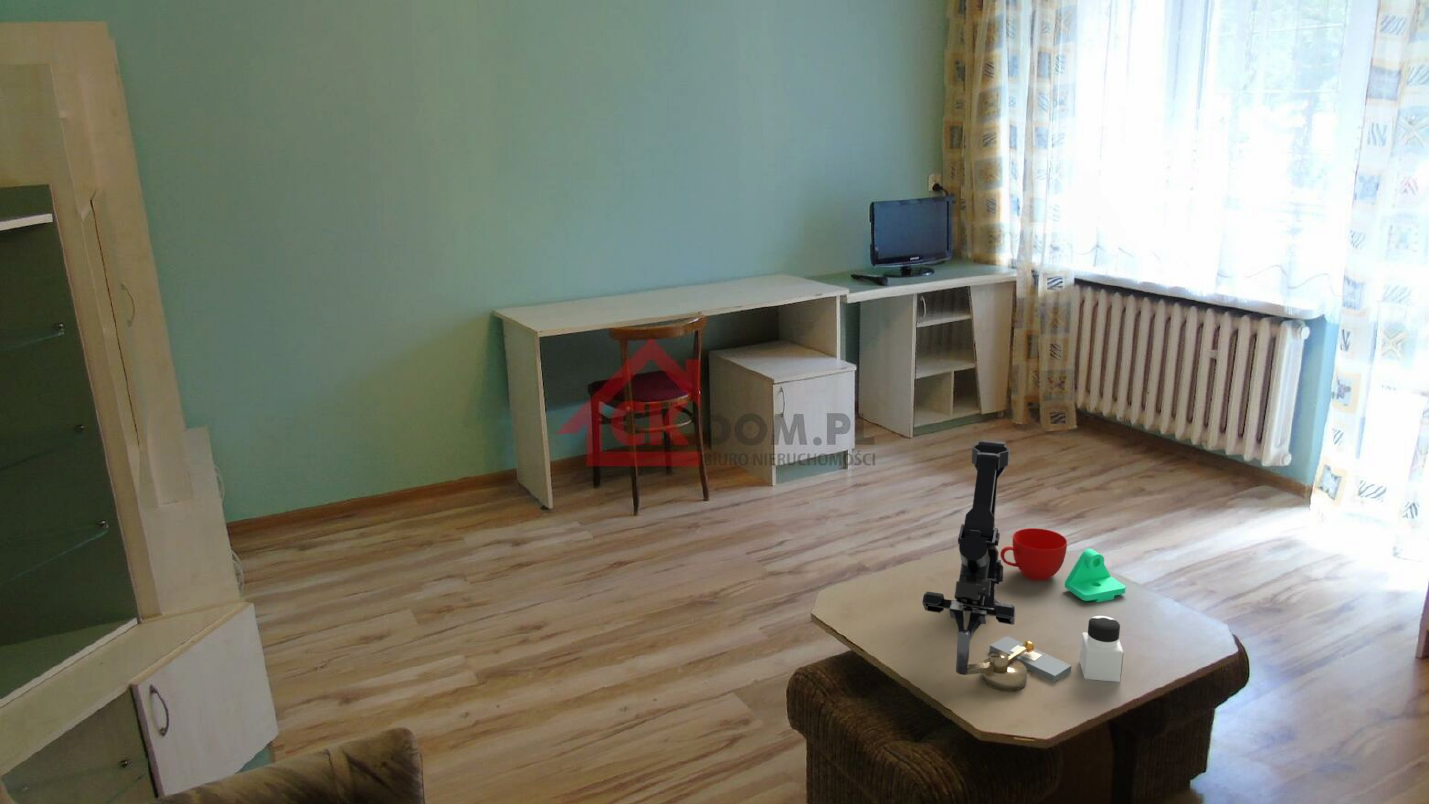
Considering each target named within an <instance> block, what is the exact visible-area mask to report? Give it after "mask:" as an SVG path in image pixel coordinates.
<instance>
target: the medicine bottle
mask: <svg viewBox="0 0 1429 804" xmlns="http://www.w3.org/2000/svg"><path fill="white" fill-rule="evenodd" d="M1087 627H1088V628H1087V632H1082V634H1081V641H1080V651H1079V665H1080V667H1081V671H1082V676H1083V679H1084V680H1091V681H1104V682H1113V683H1114V682H1115V683H1116V682H1117V683H1121V680H1122V671H1123V660H1124V649H1123V647H1122V644H1121V641H1120V631H1121V630H1120V629H1121V624H1120V623H1119V622H1118V621H1117V620H1116V619H1114V618H1112V617H1110V616H1107V615H1096V616H1093V617H1090V619H1089V620H1088V626H1087Z"/></svg>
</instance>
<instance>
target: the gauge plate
mask: <svg viewBox="0 0 1429 804" xmlns="http://www.w3.org/2000/svg"><path fill="white" fill-rule="evenodd" d="M1023 644H1024V642H1022V641H1018V640H1017V639H1014V638H1013V637H1010V636H1008V635H1006V636H1004V637H1002V638H1000V639H999V640H997V641H995V642H993V643H992V644H990V645H989V652H991V653H992V652H995V651H1001V652H1004V653H1006V654H1008V656H1010V655H1011V654H1013V653H1015V652H1016V651H1018V650H1019V649H1021V648H1022V647H1023ZM1015 660H1018V661H1020V662H1021V663H1022V664H1024V665H1025V667H1026V668H1027V671H1029V672H1032V673H1034V674H1036V675H1039V676H1041V677H1042V678H1045V679H1047V680H1049V681H1051V682H1052V683H1056V682H1058V681H1059V680H1060V679H1063V678H1064V677H1065V676H1067V675H1068V674H1070V673H1072V665H1071V664H1069V663H1067V662H1065V661H1062V660H1061V659H1058V658H1056V657H1053V656H1051V655H1050V654H1047V653H1045V652H1042V651H1041V650H1039V649H1036V648H1034V650H1033V651H1032V652H1030V653H1028V652H1025V653H1024V654H1022V655H1020V656H1019V657H1017V658H1016V659H1015Z"/></svg>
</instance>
